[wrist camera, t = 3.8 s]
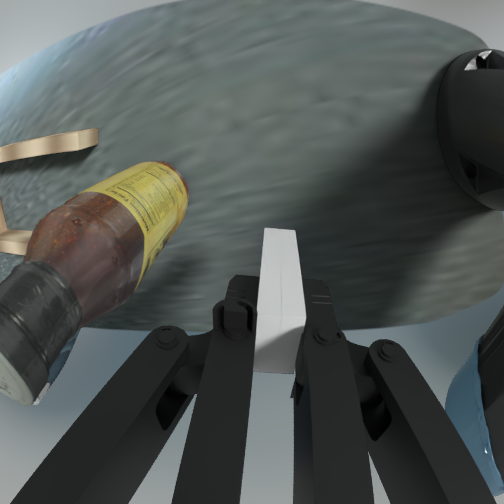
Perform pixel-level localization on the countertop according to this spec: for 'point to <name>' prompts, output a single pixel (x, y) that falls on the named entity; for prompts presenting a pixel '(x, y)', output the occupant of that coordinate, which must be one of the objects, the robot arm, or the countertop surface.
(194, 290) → the countertop surface
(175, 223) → the sauce bottle
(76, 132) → the bracket
